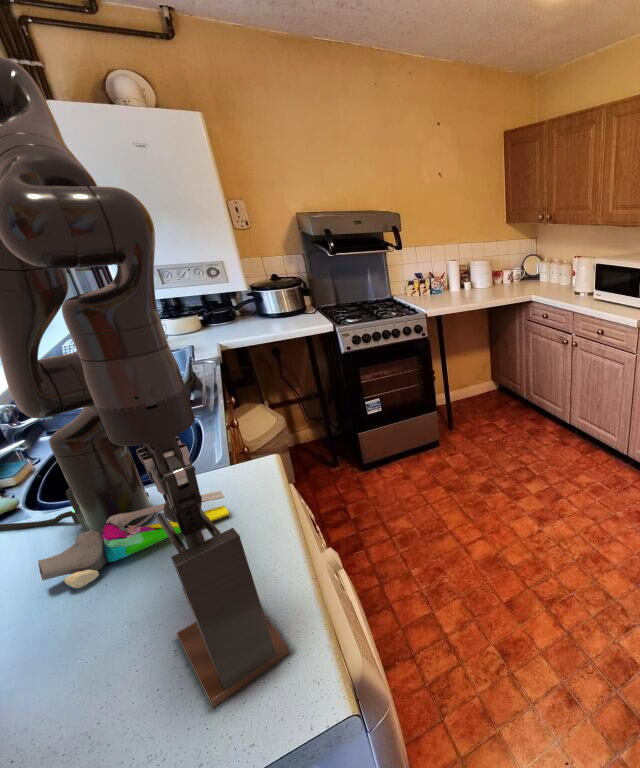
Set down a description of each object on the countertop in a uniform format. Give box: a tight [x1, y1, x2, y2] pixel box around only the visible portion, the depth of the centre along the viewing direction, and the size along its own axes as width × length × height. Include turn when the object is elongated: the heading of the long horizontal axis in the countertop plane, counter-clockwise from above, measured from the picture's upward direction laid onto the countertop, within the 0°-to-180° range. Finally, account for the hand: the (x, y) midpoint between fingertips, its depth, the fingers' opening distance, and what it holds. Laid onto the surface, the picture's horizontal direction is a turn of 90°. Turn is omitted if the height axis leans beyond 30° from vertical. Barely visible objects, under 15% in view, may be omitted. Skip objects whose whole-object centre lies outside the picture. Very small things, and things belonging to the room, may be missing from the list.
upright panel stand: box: [155, 508, 291, 708], centre depth 55 cm, size 14×9×20 cm, turn 49°
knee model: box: [37, 490, 230, 589], centre depth 76 cm, size 9×8×25 cm
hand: (188, 523), depth 52 cm, fingers closed on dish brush, 3 cm apart
